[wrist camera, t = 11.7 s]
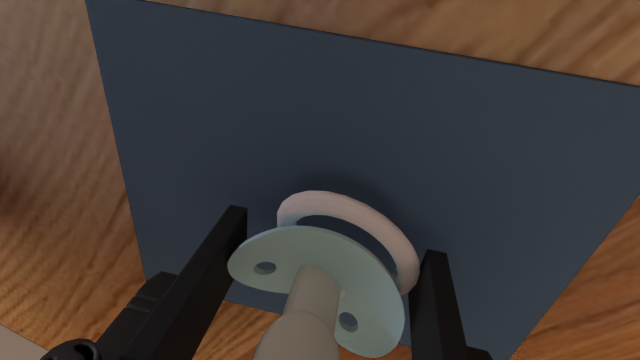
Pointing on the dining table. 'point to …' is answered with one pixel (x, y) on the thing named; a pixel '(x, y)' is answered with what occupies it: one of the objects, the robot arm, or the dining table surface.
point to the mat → (367, 152)
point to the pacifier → (328, 280)
